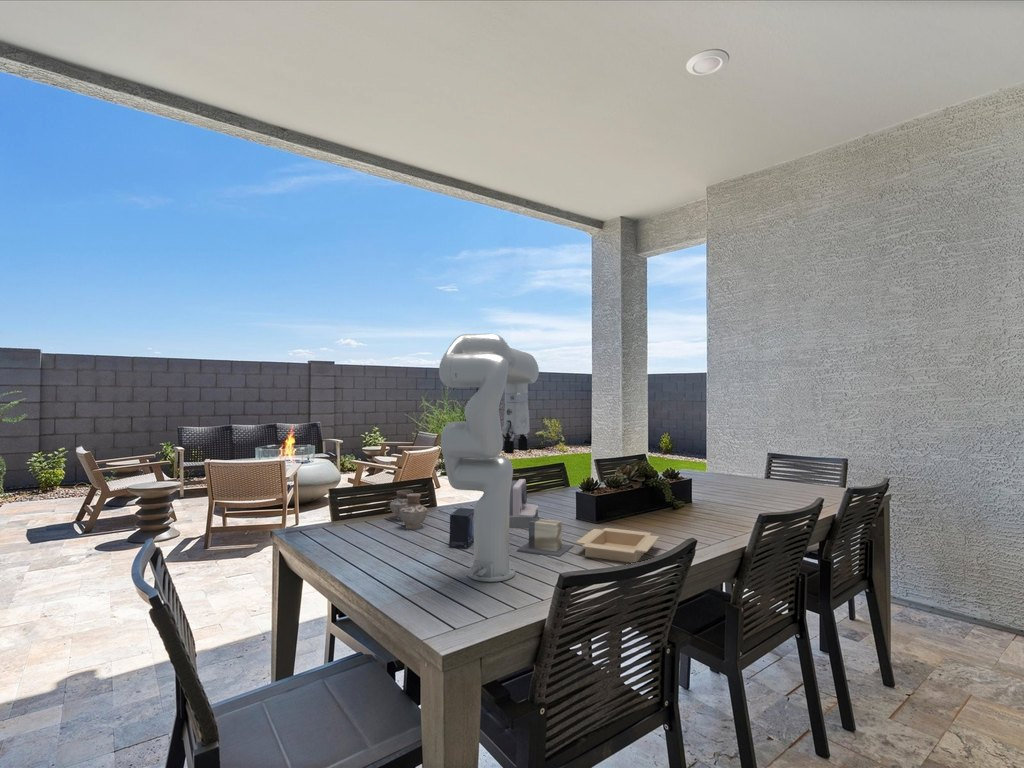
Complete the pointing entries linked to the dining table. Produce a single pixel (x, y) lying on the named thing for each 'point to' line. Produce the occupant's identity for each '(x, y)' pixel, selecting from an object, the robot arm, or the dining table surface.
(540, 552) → the mat
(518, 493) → the grey l-shaped block
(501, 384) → the robot arm
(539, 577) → the dining table surface
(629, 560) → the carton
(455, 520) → the small box
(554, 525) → the box
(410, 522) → the pottery
